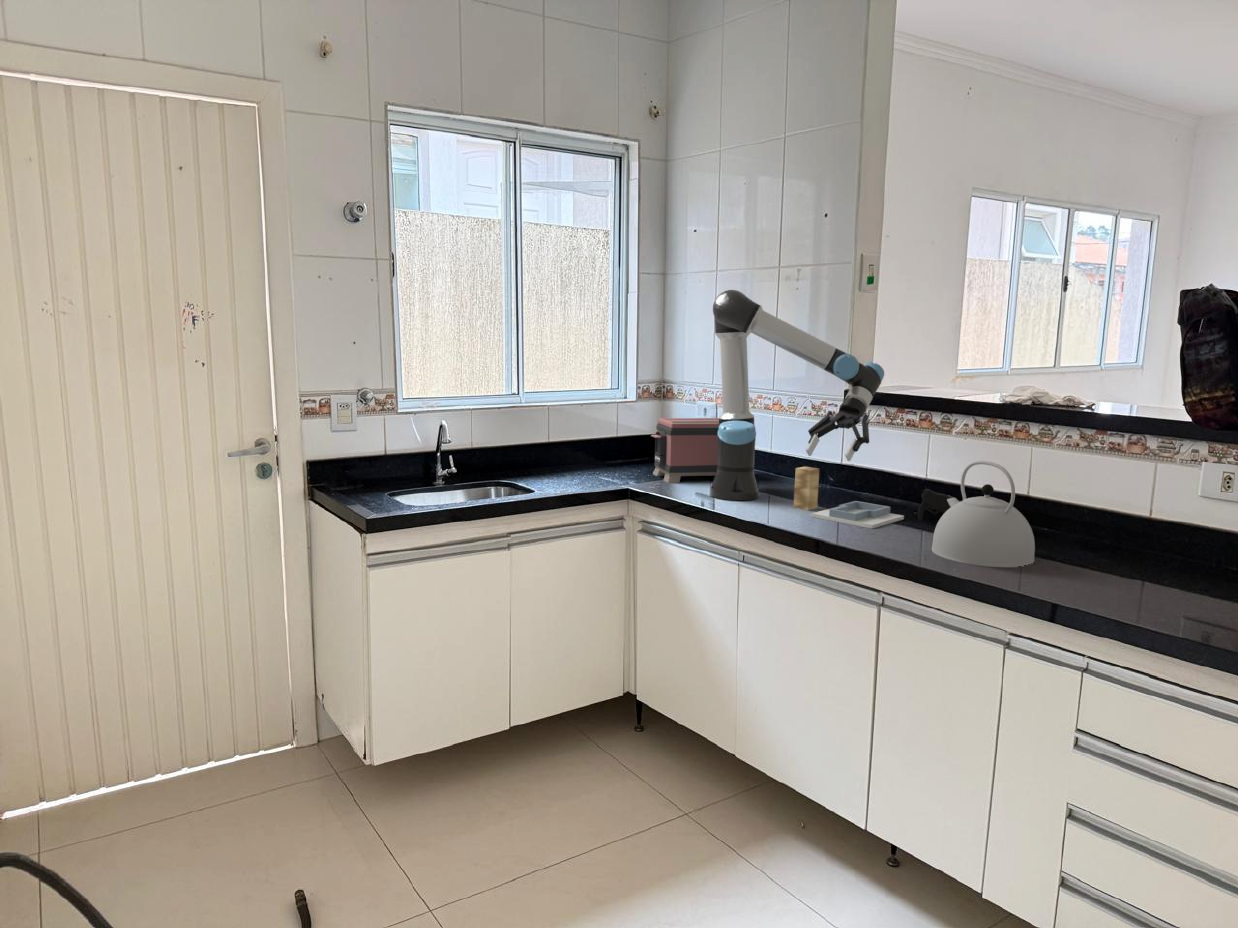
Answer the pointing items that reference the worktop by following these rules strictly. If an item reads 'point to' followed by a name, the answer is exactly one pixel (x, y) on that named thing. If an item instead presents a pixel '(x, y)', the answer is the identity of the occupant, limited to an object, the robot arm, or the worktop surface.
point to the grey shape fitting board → (859, 514)
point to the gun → (933, 502)
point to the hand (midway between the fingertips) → (827, 455)
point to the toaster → (686, 447)
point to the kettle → (984, 529)
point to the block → (806, 488)
